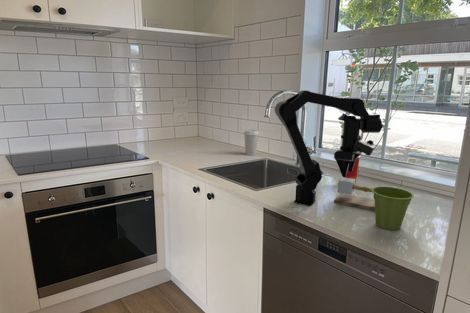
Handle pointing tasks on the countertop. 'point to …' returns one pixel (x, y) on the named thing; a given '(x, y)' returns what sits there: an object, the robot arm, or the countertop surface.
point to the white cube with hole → (346, 185)
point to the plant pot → (391, 206)
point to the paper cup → (355, 169)
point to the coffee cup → (251, 141)
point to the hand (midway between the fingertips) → (347, 174)
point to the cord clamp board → (356, 199)
